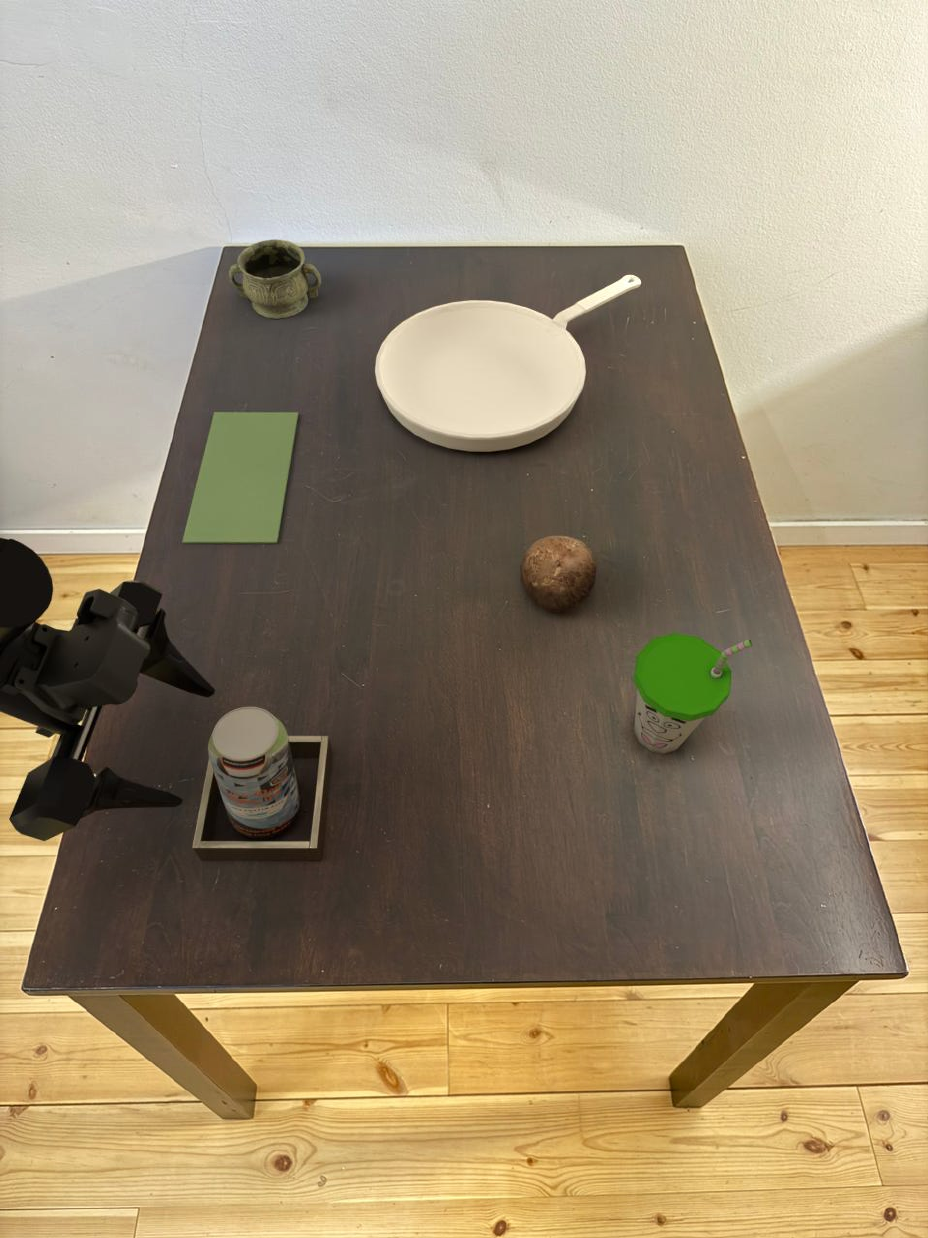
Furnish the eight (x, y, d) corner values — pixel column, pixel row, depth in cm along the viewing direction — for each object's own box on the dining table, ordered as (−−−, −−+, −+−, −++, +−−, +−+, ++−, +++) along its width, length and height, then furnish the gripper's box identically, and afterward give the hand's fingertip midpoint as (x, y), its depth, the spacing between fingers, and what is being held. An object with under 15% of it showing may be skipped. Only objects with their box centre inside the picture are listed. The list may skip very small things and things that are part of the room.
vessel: (327, 282, 116) (321, 238, 111) (320, 322, 111) (314, 279, 106) (240, 281, 116) (230, 238, 111) (229, 321, 111) (218, 278, 106)
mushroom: (602, 533, 86) (581, 518, 81) (614, 609, 84) (593, 600, 79) (531, 551, 90) (506, 538, 84) (540, 624, 88) (515, 616, 82)
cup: (601, 744, 76) (628, 656, 64) (637, 680, 80) (669, 585, 68) (682, 786, 74) (726, 703, 62) (715, 718, 78) (763, 626, 65)
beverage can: (224, 842, 71) (185, 784, 61) (242, 762, 75) (209, 695, 65) (298, 847, 71) (272, 789, 61) (312, 766, 75) (289, 699, 65)
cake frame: (201, 860, 70) (191, 848, 68) (221, 750, 76) (213, 735, 73) (321, 860, 70) (316, 848, 68) (332, 750, 76) (328, 735, 73)
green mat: (182, 543, 90) (182, 541, 89) (214, 413, 101) (214, 411, 101) (277, 543, 90) (276, 541, 89) (298, 414, 101) (298, 412, 101)
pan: (337, 377, 105) (332, 347, 101) (568, 263, 118) (571, 233, 115) (463, 494, 94) (464, 465, 90) (702, 353, 107) (710, 323, 104)
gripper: (-28, 757, 46) (221, 845, 54) (89, 501, 56) (282, 609, 65) (-89, 802, 53) (140, 874, 61) (25, 567, 63) (207, 656, 72)
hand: (196, 746), depth 65 cm, fingers open, 9 cm apart
